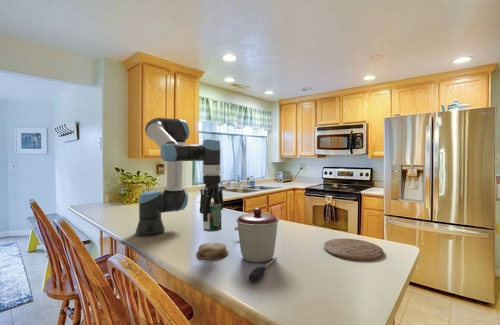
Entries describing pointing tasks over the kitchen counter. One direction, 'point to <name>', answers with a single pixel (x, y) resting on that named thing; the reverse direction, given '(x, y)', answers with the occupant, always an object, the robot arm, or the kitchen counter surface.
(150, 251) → the kitchen counter surface
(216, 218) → the canned tomato
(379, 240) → the kitchen counter surface
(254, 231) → the canister
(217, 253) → the pedestal
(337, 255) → the trivet
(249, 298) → the kitchen counter surface
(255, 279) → the screwdriver
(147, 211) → the robot arm
